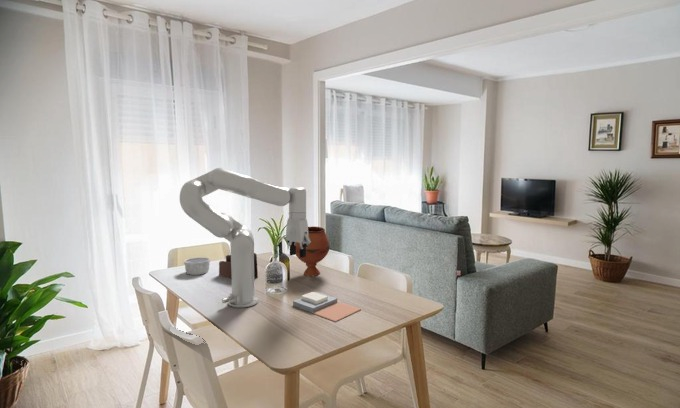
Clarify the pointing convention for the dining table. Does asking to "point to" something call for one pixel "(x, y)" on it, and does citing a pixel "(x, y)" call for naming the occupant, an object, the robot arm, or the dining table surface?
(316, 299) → the ceramic tile
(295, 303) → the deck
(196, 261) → the ramekin
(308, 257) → the goblet
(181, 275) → the dining table surface
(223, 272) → the letter holder
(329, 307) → the mat
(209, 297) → the dining table surface
